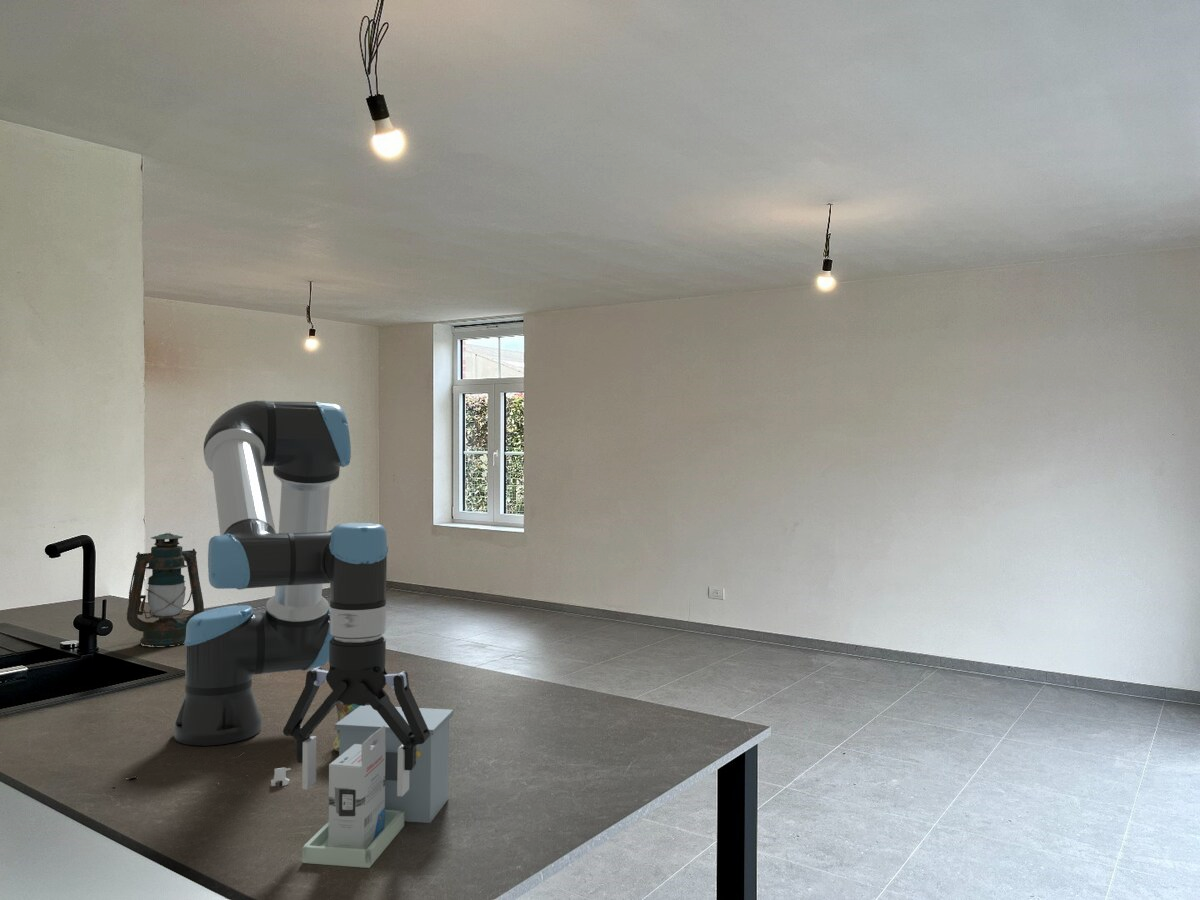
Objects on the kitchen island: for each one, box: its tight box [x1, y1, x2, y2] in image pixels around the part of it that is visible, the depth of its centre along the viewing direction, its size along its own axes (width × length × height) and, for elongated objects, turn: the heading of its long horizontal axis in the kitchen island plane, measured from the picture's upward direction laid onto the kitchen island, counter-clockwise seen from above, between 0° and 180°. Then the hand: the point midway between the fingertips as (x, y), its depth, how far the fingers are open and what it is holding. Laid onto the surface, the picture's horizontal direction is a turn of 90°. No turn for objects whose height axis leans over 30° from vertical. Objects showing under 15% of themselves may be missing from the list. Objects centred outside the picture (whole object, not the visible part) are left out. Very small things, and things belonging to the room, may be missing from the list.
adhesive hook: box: [270, 767, 292, 787], centre depth 146 cm, size 3×3×3 cm
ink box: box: [328, 726, 386, 849], centre depth 124 cm, size 9×5×15 cm, turn 172°
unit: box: [334, 705, 454, 824], centre depth 137 cm, size 15×10×14 cm, turn 83°
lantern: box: [126, 532, 205, 646], centre depth 246 cm, size 19×14×30 cm
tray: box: [301, 810, 405, 869], centre depth 125 cm, size 9×13×2 cm
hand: (355, 789), depth 125 cm, fingers open, 13 cm apart
